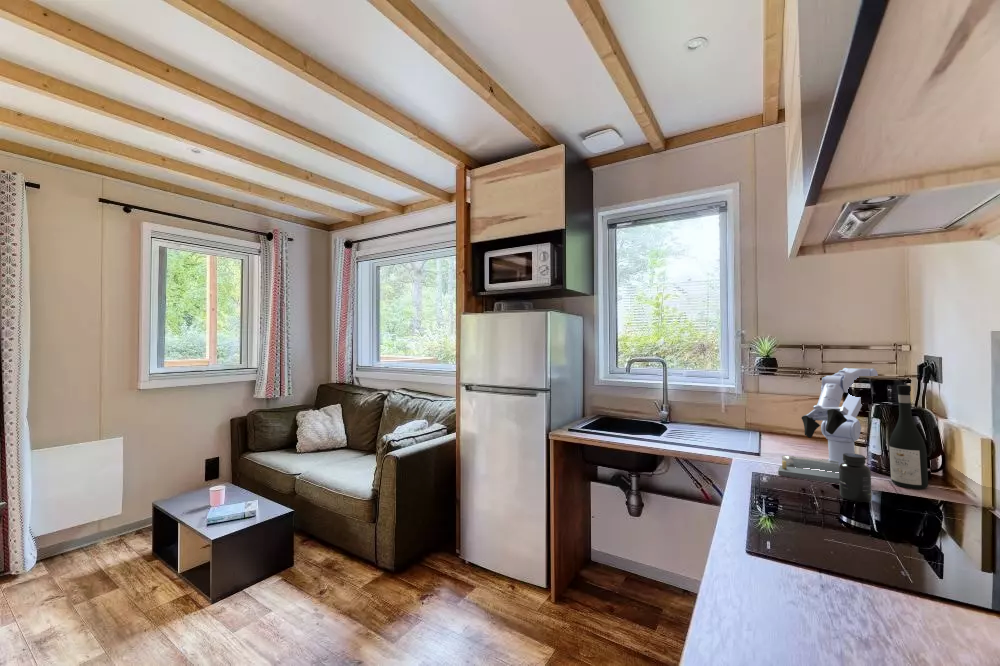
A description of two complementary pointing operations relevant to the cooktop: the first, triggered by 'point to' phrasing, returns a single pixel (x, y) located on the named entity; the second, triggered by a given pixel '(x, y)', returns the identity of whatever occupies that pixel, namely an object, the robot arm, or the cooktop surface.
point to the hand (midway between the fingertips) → (818, 434)
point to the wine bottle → (907, 447)
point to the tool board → (808, 474)
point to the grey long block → (811, 463)
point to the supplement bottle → (855, 478)
